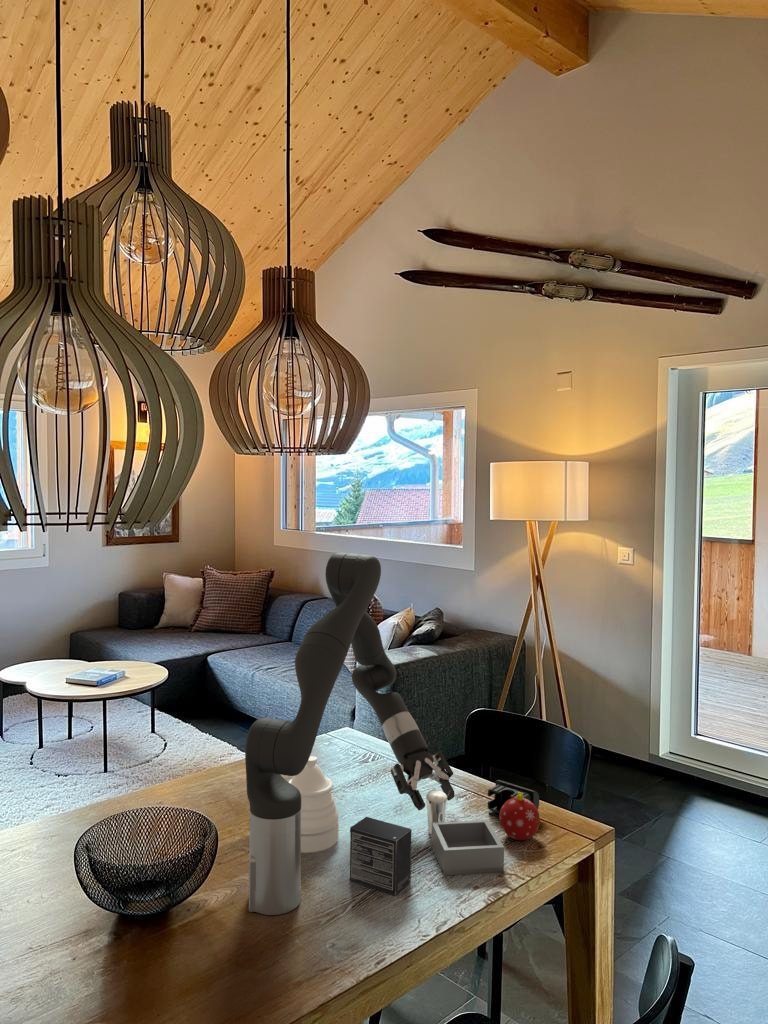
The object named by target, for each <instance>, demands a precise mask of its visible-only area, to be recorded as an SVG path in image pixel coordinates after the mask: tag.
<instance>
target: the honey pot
mask: <svg viewBox="0 0 768 1024" xmlns="http://www.w3.org/2000/svg"><path fill="white" fill-rule="evenodd" d="M317 761H318V757H317V756H315V755H310V757H309V760H308V762H307V764H306V766H305V768H304V769H303V770H302V772H301V773H299V774H298V775H296V776H292V778H290V780H288V782H289V783H290V784H292V785H293V786H295V787H296V788H297V789H298V790H299V791H300V793H301V853H307V854H309V853H316V852H322V851H325V850H328V849H330V848H331V847H333V846H335V845H336V844H337V842H338V840H339V837H340V836H339V829H340V828H339V827H340V826H339V817H340V815H339V810H338V809H337V806H336V801H335V798H334V797H335V796H334V795H333V794H332V790H333V788H334V782H333V781H332V779H330V778H329V777H327V776H325V774H324V772H323V771H322V769H321V767H320V765H318V764H317Z"/></svg>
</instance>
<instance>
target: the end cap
mask: <svg viewBox="0 0 768 1024" xmlns="http://www.w3.org/2000/svg"><path fill="white" fill-rule="evenodd" d="M518 792H521V793H523V798H525V799H528V800H529V801H531V802H532V803H533V804H534V805H535V806H536V808H537V810H538V811H539V807H540V796H539V793H538V792H537V791H536V790H533V789H530V788H527V787H523V786H520V785H517V784H514V783H510V782H507V781H504V780H501V779H497V780H495V785H494V786H493V787H491V788H489V789H488V790H487V797H489V798H490V797H491V796H493V798H492V799H490V800H488V801H487V809H488V811H487V812H488V815H489V816H490V817H495V818H497V819H499V814H500V810H501V808H502V806H503V805H504V803H505V802H506V801H508V800H509V799H511V798H515V797H517V793H518ZM519 794H520V793H519ZM520 795H521V794H520Z"/></svg>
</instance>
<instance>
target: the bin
mask: <svg viewBox="0 0 768 1024" xmlns="http://www.w3.org/2000/svg"><path fill="white" fill-rule="evenodd" d="M431 849H432V850H433V854H434V855H435V857H436V860H437V862H438V864H439V867H440V869H441V872H442V875H443V876H456V875H457V876H458V875H462V876H463V875H477V874H478V875H479V874H491V873H492V874H493V873H496V874H497V873H504V871H505V870H504V868H505V846H504V845H503V843H502V841H501V840H500V838H499V836H498V835H497V833H496V831H495V829H494V828H493V826H492V825H491V823H490V821H489V820H488V819H479V820H460V821H459V820H458V821H445V822H434V823H432V835H431Z"/></svg>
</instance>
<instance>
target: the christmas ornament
mask: <svg viewBox="0 0 768 1024" xmlns="http://www.w3.org/2000/svg"><path fill="white" fill-rule="evenodd" d="M519 793H520V794H521V795H520V794H519ZM540 818H541V817H540V812H539V809H538V810H537V808H536V806H535V805H534V804H533V803H532V802H531V801H529V800H528V799H525V798H523V793H521V792H518V793H517V797H515V798H511V799H509V800H508V801H506V802H505V803H504V805H503V806H502V808H501V810H500V814H499V818H498V819H499V824H500V827H501V829H502V830H503V832H504V833H505V834H506V835H507V836H508V837H510V838H511V839H513V840H516V841H525V840H528V839H530V838H532V837H533V836H534V835H535V834H536V833H537V831H538V829H539V828H540V824H541V823H540V821H541V819H540Z"/></svg>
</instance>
